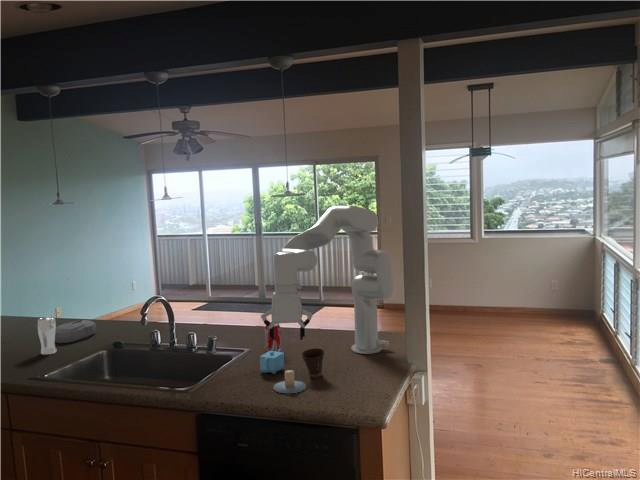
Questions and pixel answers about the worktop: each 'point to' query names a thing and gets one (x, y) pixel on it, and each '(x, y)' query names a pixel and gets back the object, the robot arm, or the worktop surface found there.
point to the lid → (289, 384)
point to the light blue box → (272, 361)
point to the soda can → (272, 344)
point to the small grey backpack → (74, 331)
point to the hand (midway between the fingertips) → (287, 339)
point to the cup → (314, 361)
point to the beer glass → (47, 335)
